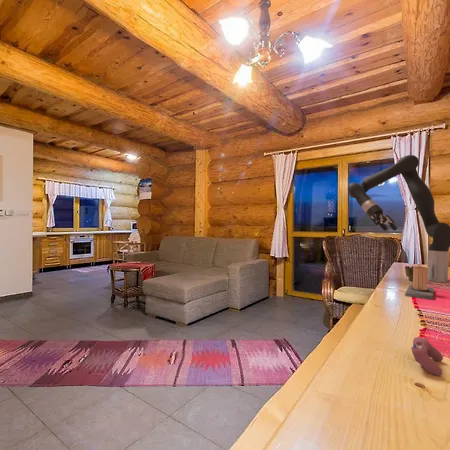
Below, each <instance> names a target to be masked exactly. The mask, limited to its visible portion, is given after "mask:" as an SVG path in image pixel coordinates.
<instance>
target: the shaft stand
mask: <svg viewBox="0 0 450 450" xmlns="http://www.w3.org/2000/svg"><path fill="white" fill-rule="evenodd" d="M434 292H435V288H434V287H432V286H431V287H430V286H427V290H417V289H413V284H409V285H408V287H407V288H406V291H405V293H404V294H405V295H404V296H405V297H411V298H417V297H418V298H417V299H423V298H424V299H425V300H431V301H433V299H434Z"/></svg>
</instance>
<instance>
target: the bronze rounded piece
mask: <svg viewBox="0 0 450 450" xmlns="http://www.w3.org/2000/svg"><path fill="white" fill-rule="evenodd" d="M413 267H417V266H414V265H411V267H410V265H405V266H404V269H405V270H404V271H405V276H406V277H407V278H408V280H409V281H410V282H413Z"/></svg>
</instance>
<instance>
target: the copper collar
mask: <svg viewBox="0 0 450 450" xmlns="http://www.w3.org/2000/svg"><path fill="white" fill-rule="evenodd" d="M428 282H429V280H428V267H425V266H416V267H415V266H413V281H412V285H413V289H417V290H427V287H428V284H429V283H428Z"/></svg>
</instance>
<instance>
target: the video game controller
mask: <svg viewBox="0 0 450 450" xmlns="http://www.w3.org/2000/svg"><path fill="white" fill-rule="evenodd" d="M411 352H412V355H413V358H414V359H415V361H416V362H417V363H419V365H420V366H421V367H422V368H424V369H425V370H426V371H427V372H429V373H431V374H432V375H434V376H436V377H440V376H442V375H443V370H442V368H441V367H440V366H439V364H438V363H437V362H442V361H443V360H444V357H443V354H442V353H441V352H440V351H439V350H438V349H437V348H435V346H433V345H432V343H431V342H430V341H428V339H426V338H425V337H424V336H423V337H419V336H418V337H414V338H413V340H412V346H411ZM434 360H435V361H434ZM436 361H437V362H436Z"/></svg>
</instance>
